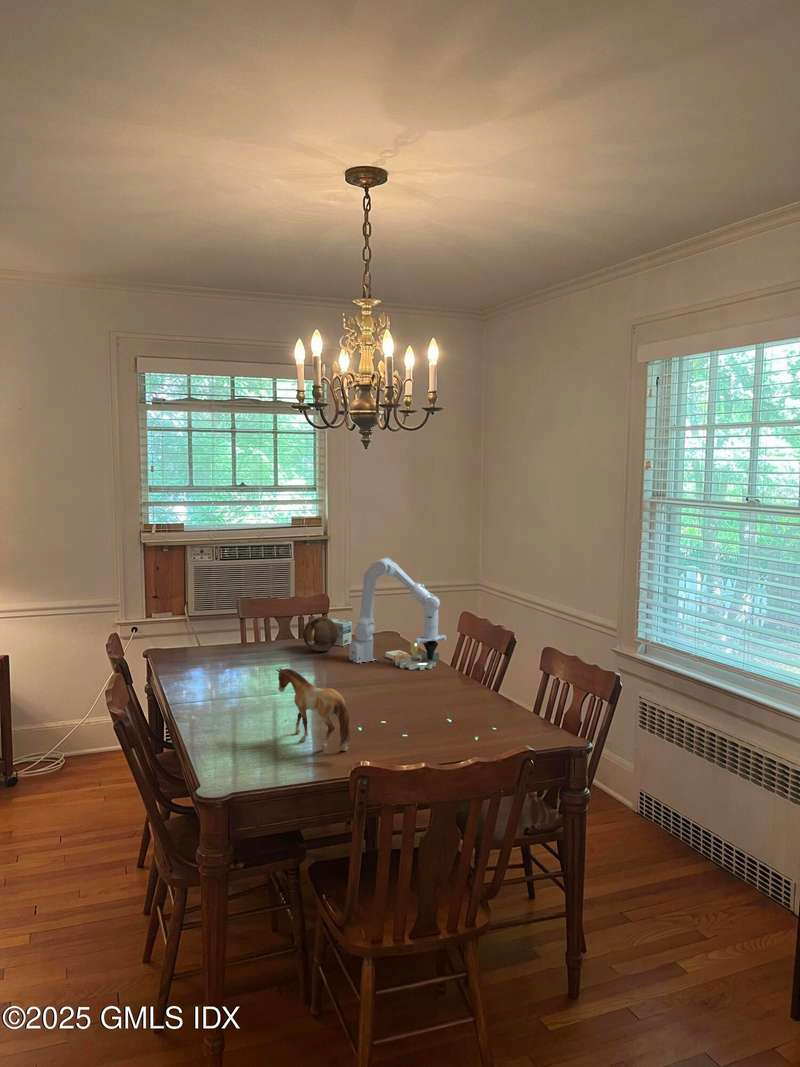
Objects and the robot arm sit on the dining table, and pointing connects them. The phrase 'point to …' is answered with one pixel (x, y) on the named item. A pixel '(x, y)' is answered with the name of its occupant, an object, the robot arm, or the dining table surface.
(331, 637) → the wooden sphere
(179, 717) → the dining table surface
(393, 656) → the square open frame
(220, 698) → the dining table surface
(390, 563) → the robot arm
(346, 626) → the light bulb box
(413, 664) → the sprocket
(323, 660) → the dining table surface
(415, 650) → the brass pin
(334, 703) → the horse figurine
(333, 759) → the dining table surface
